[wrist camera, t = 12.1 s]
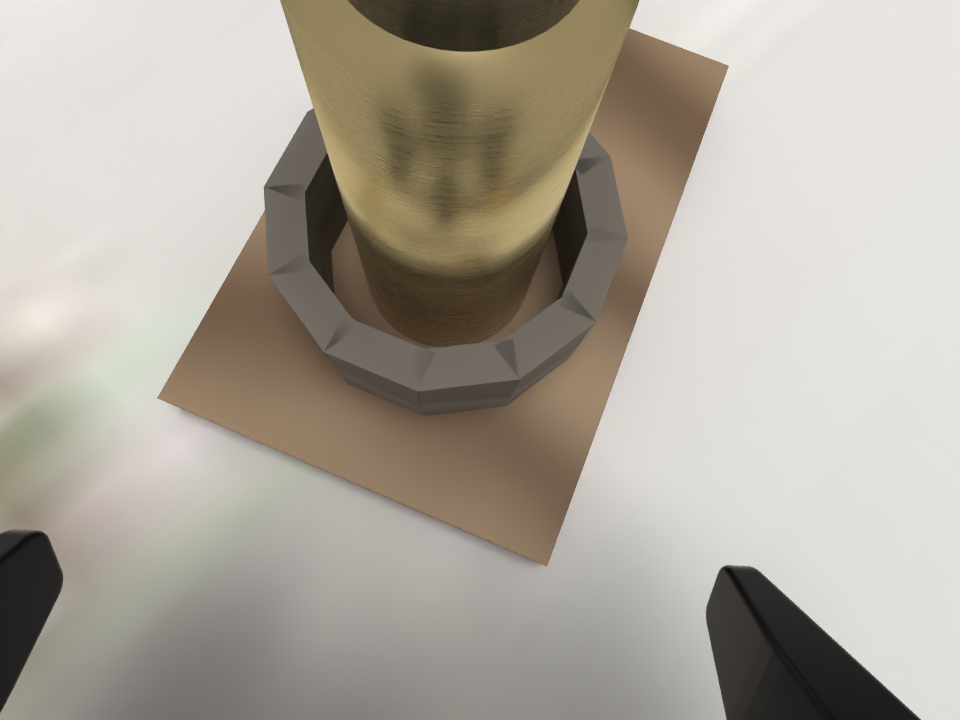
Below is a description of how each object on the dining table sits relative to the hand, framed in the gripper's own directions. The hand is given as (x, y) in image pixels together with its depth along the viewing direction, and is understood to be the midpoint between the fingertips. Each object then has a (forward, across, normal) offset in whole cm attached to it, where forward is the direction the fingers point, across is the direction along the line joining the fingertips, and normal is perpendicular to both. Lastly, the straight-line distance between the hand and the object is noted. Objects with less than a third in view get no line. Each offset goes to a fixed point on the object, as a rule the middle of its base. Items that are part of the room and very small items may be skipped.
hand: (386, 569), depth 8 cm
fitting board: (+14, -1, 0) cm, 14 cm away
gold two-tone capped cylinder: (+12, 0, 0) cm, 12 cm away
